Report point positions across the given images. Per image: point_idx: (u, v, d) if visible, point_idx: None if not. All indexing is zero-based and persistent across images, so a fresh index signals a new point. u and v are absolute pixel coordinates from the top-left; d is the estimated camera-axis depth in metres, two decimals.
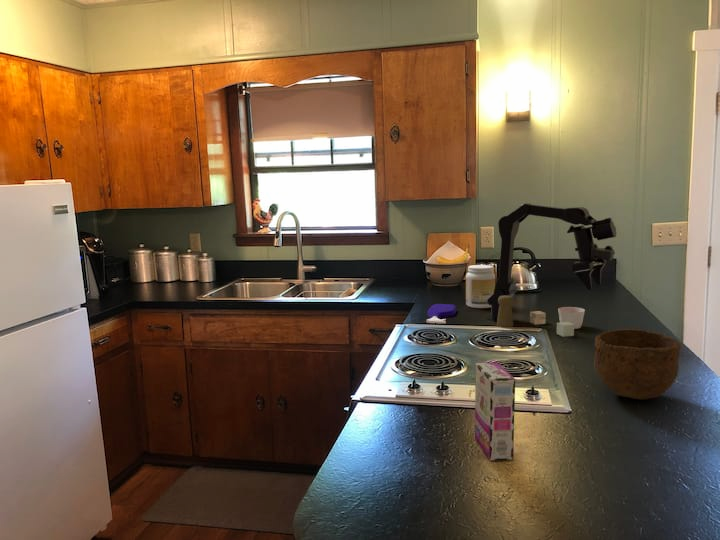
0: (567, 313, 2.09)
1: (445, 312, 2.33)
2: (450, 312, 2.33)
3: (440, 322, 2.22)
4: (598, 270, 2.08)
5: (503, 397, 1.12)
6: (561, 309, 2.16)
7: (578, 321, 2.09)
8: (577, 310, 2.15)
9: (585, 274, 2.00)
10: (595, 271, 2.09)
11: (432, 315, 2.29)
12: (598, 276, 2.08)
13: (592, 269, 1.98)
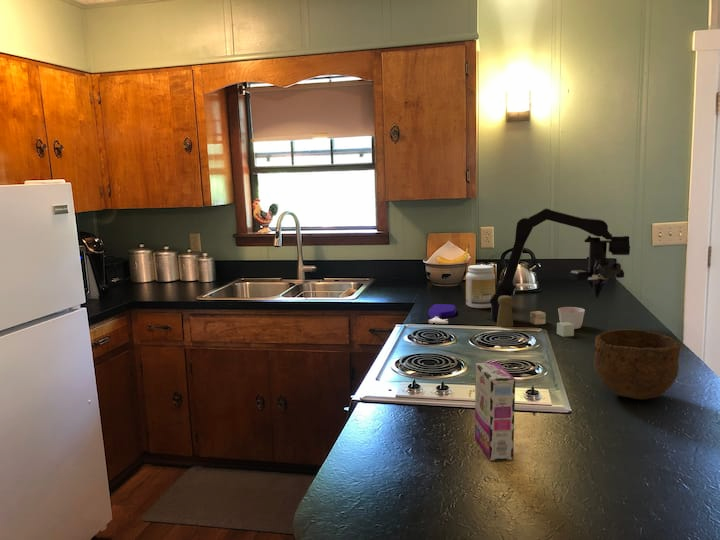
0: (567, 313, 2.09)
1: (446, 312, 2.33)
2: (451, 312, 2.33)
3: (442, 322, 2.21)
4: (598, 284, 2.13)
5: (503, 397, 1.12)
6: (561, 309, 2.16)
7: (578, 321, 2.09)
8: (577, 310, 2.15)
9: (593, 282, 2.13)
10: None
11: (434, 315, 2.28)
12: None
13: (596, 280, 2.10)
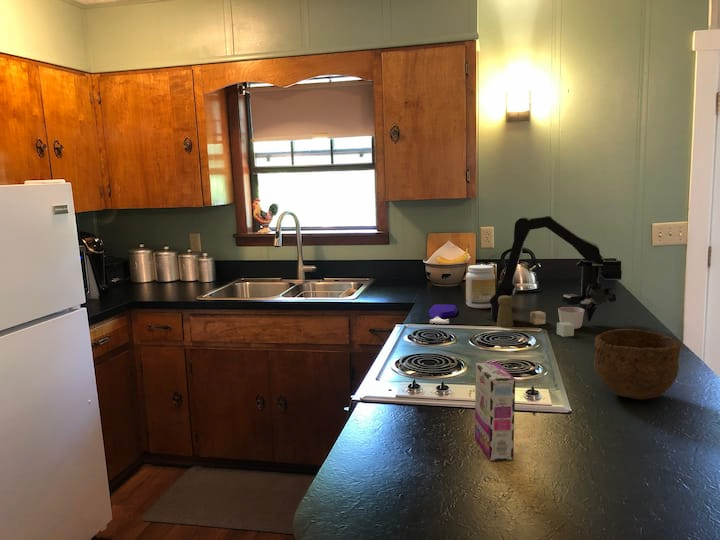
0: (567, 313, 2.09)
1: (447, 312, 2.32)
2: (452, 312, 2.33)
3: (443, 322, 2.21)
4: (591, 308, 2.14)
5: (503, 397, 1.12)
6: (561, 309, 2.16)
7: (578, 321, 2.09)
8: (577, 310, 2.15)
9: (585, 306, 2.14)
10: None
11: (434, 315, 2.28)
12: None
13: (588, 304, 2.11)
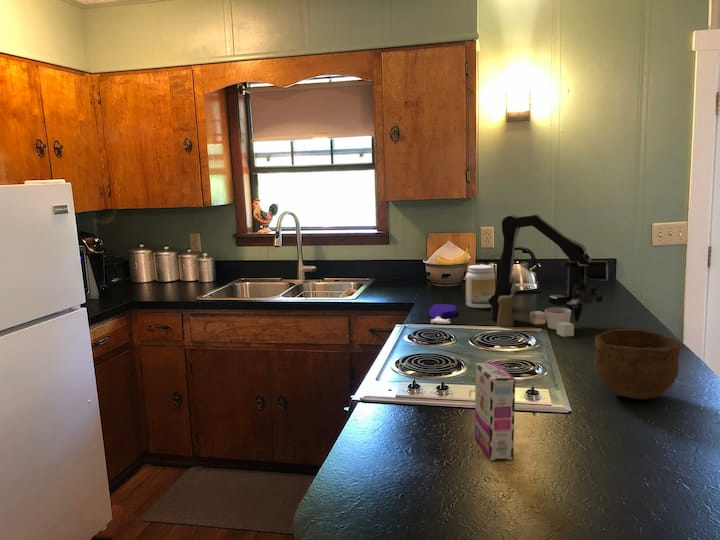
0: (553, 314, 2.08)
1: (447, 312, 2.32)
2: (452, 312, 2.33)
3: (445, 322, 2.21)
4: (578, 308, 2.12)
5: (503, 397, 1.12)
6: (548, 310, 2.15)
7: None
8: (564, 311, 2.14)
9: (572, 307, 2.12)
10: (576, 308, 2.13)
11: (435, 315, 2.28)
12: None
13: (575, 305, 2.09)
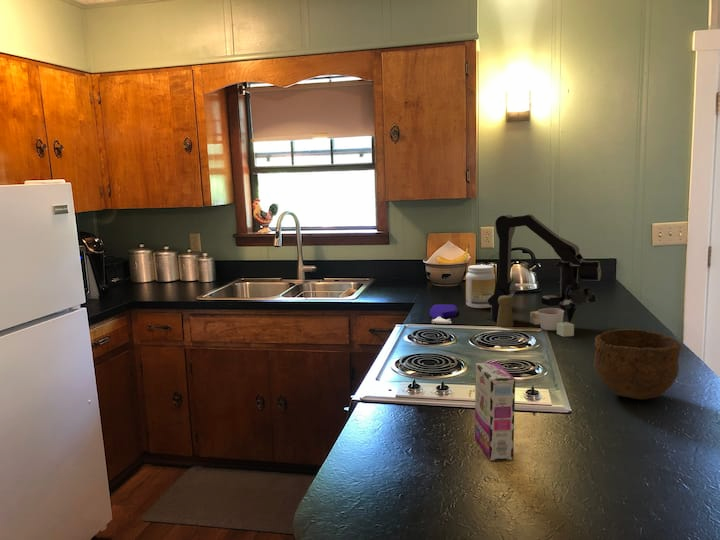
0: (546, 315, 2.07)
1: (448, 312, 2.32)
2: (453, 312, 2.33)
3: (446, 322, 2.21)
4: (571, 309, 2.11)
5: (503, 397, 1.12)
6: (541, 310, 2.14)
7: (557, 322, 2.07)
8: (557, 311, 2.13)
9: (565, 307, 2.12)
10: None
11: (436, 315, 2.28)
12: None
13: (568, 305, 2.08)
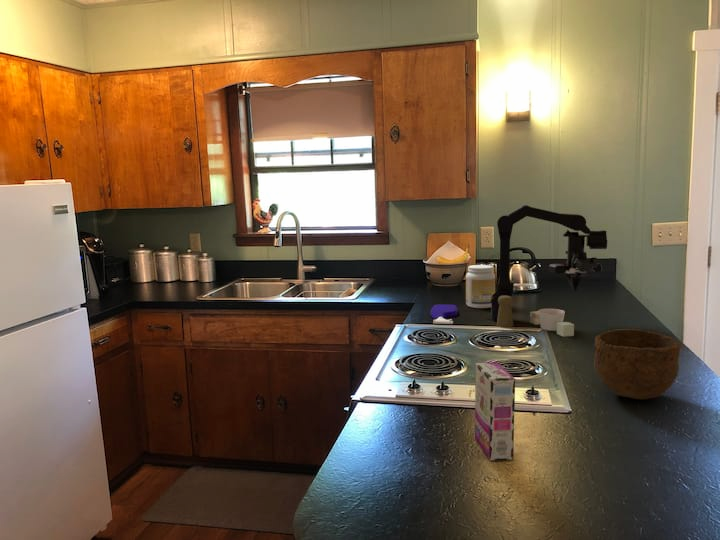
0: (546, 315, 2.07)
1: (449, 312, 2.32)
2: (454, 312, 2.33)
3: (447, 322, 2.21)
4: (576, 278, 2.17)
5: (503, 397, 1.12)
6: (542, 311, 2.14)
7: None
8: (558, 312, 2.13)
9: (571, 276, 2.17)
10: None
11: (437, 316, 2.28)
12: (575, 283, 2.18)
13: (573, 274, 2.14)
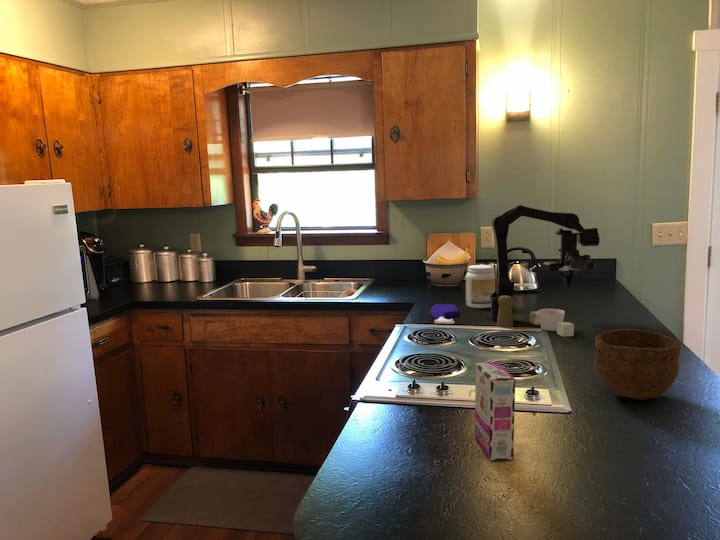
0: (546, 315, 2.07)
1: (449, 312, 2.32)
2: (454, 312, 2.33)
3: (449, 322, 2.21)
4: (570, 275, 2.22)
5: (503, 397, 1.12)
6: (542, 311, 2.14)
7: None
8: (558, 312, 2.13)
9: (564, 273, 2.22)
10: (569, 275, 2.22)
11: (438, 315, 2.28)
12: None
13: (567, 271, 2.18)
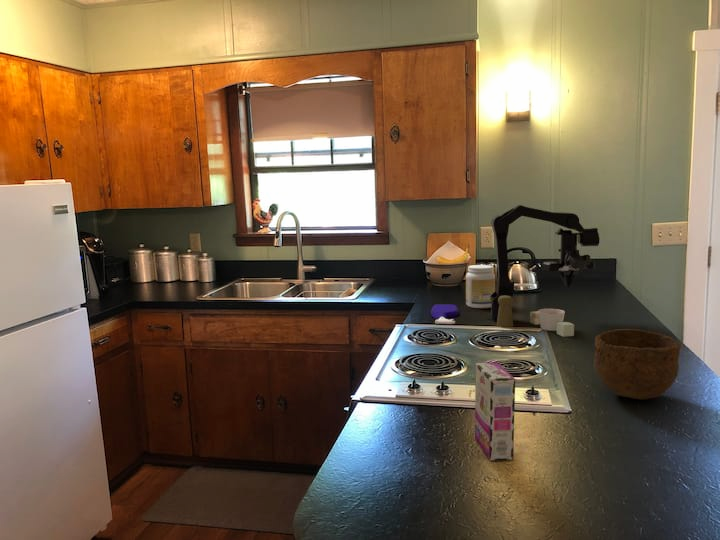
0: (546, 315, 2.07)
1: (450, 312, 2.32)
2: (454, 312, 2.33)
3: (450, 322, 2.21)
4: (570, 275, 2.22)
5: (503, 397, 1.12)
6: (542, 311, 2.14)
7: None
8: (558, 312, 2.13)
9: (564, 273, 2.22)
10: (569, 275, 2.22)
11: (439, 316, 2.28)
12: None
13: (567, 271, 2.18)
